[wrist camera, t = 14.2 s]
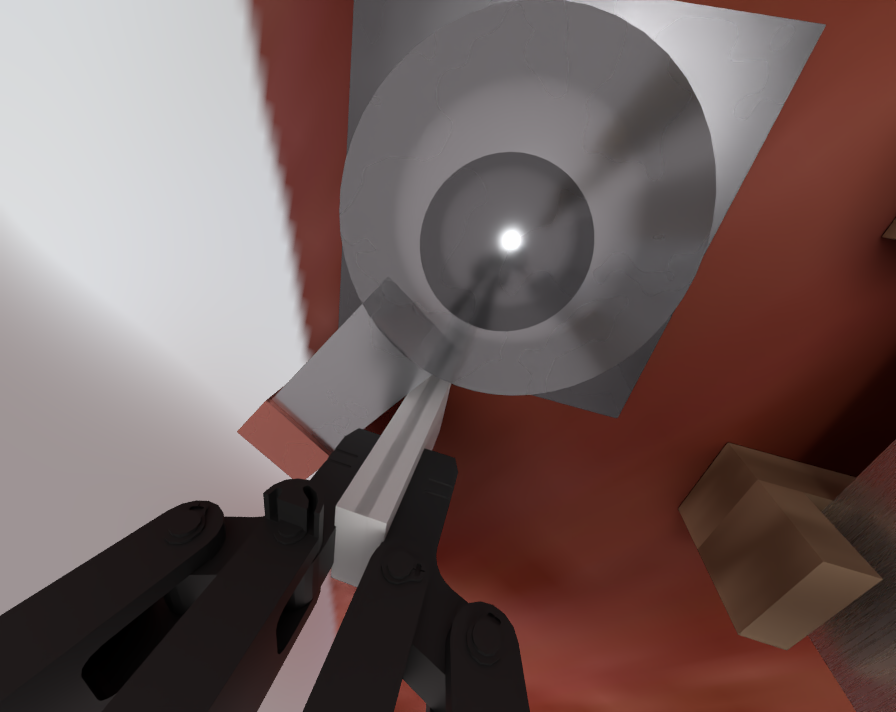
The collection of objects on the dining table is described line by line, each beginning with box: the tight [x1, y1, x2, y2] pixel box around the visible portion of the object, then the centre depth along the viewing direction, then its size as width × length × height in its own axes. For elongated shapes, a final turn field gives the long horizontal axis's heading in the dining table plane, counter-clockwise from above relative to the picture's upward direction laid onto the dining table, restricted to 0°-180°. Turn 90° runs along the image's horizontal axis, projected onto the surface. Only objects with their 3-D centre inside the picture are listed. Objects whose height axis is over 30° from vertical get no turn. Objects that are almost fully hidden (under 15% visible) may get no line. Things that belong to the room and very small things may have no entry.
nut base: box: [338, 0, 826, 418], centre depth 12 cm, size 12×12×1 cm
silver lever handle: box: [237, 0, 716, 479], centre depth 11 cm, size 17×9×5 cm, turn 133°
